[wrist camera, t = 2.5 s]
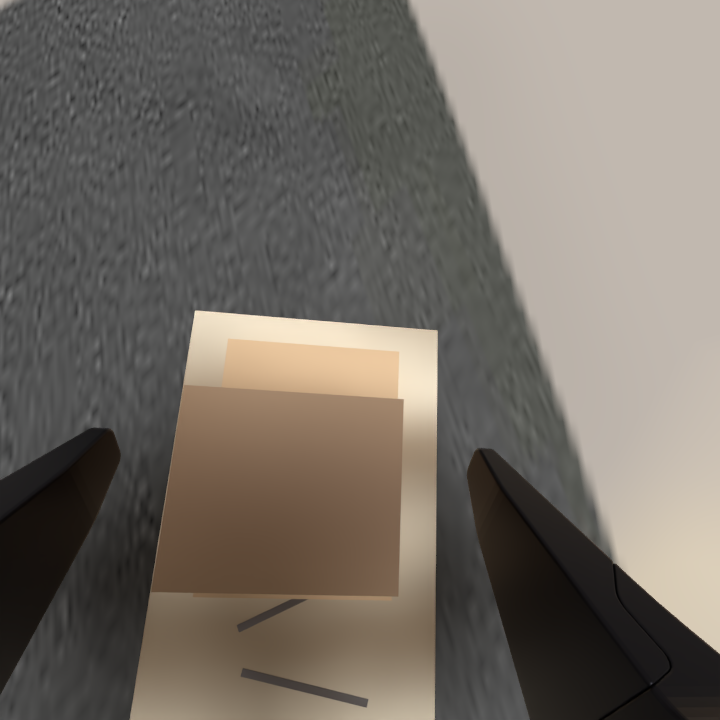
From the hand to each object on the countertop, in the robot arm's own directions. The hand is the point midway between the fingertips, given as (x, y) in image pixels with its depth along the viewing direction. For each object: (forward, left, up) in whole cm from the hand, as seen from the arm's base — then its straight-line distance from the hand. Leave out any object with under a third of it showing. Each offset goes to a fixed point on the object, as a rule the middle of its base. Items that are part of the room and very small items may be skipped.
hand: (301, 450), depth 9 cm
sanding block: (0, 0, -5) cm, 5 cm away
